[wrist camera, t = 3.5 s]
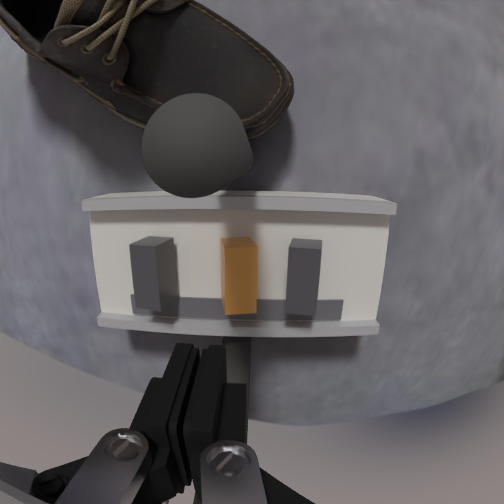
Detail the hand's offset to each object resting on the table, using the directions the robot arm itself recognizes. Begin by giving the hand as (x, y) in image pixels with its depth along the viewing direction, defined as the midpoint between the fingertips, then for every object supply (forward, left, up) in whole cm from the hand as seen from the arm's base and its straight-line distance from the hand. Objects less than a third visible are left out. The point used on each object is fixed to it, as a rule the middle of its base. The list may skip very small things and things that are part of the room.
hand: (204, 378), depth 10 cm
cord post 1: (0, -8, -16) cm, 18 cm away
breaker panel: (0, 0, -16) cm, 16 cm away
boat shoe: (+9, -18, -17) cm, 26 cm away
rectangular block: (0, 0, -12) cm, 12 cm away
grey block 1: (+5, 0, -12) cm, 13 cm away
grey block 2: (-5, 0, -12) cm, 13 cm away
